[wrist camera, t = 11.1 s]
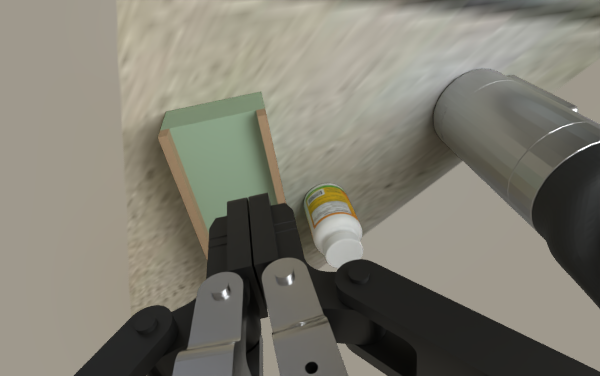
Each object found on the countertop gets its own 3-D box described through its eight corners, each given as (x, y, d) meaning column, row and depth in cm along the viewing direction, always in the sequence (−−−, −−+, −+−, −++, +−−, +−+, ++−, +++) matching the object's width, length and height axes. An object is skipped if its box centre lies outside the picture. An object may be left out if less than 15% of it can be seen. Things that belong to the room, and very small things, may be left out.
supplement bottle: (340, 219, 50) (362, 274, 42) (299, 217, 49) (314, 273, 41) (351, 183, 47) (376, 234, 39) (307, 180, 46) (324, 232, 38)
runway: (261, 91, 40) (266, 114, 35) (296, 251, 52) (304, 285, 47) (166, 111, 39) (157, 137, 34) (224, 267, 51) (224, 303, 46)
